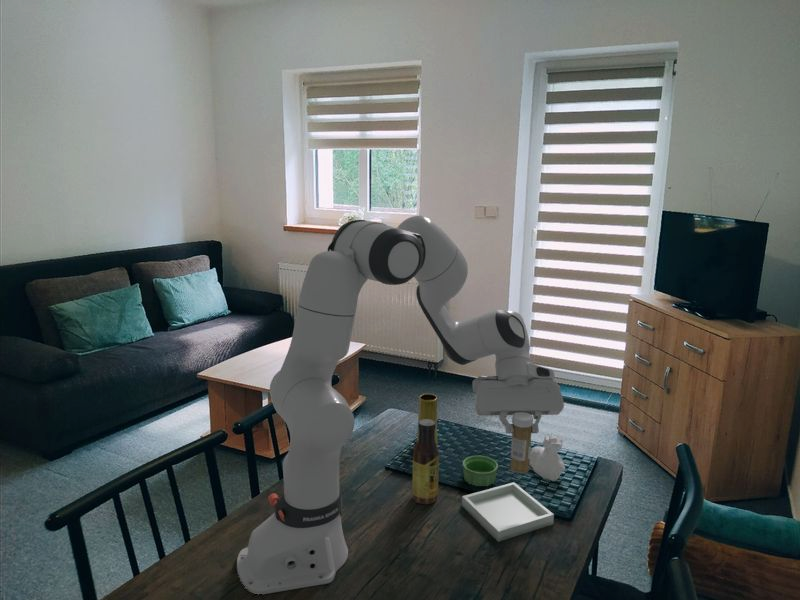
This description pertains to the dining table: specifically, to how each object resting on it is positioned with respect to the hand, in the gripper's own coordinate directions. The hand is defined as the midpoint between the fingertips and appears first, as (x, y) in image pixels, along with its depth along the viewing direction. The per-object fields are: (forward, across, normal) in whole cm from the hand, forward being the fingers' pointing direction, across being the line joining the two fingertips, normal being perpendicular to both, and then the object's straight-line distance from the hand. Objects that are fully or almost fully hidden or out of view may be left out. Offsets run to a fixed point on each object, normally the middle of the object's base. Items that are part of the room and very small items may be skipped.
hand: (522, 432), depth 134 cm
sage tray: (+15, -3, +14) cm, 21 cm away
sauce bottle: (+10, -21, +19) cm, 30 cm away
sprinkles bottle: (+6, 0, +7) cm, 10 cm away
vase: (-10, -18, +39) cm, 45 cm away
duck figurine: (+2, +12, +27) cm, 30 cm away
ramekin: (+4, -6, +26) cm, 27 cm away
